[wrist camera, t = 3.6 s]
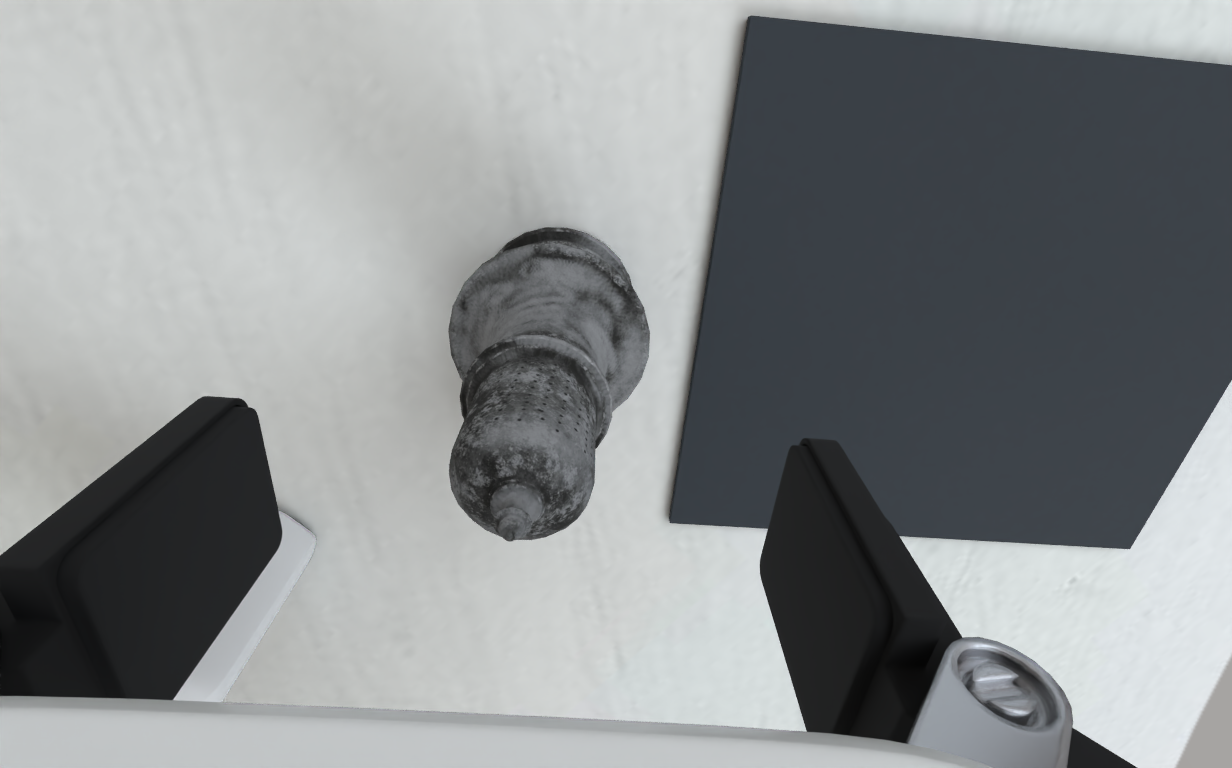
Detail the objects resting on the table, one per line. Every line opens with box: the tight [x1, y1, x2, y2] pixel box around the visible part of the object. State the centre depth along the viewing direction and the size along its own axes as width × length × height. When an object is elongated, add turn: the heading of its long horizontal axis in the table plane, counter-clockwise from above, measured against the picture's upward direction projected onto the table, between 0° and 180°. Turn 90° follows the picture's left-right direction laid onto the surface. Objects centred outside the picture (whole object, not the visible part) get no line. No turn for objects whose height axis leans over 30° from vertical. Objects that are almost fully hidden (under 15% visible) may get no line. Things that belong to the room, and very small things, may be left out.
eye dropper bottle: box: [173, 510, 316, 702], centre depth 20 cm, size 4×6×12 cm
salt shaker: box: [449, 228, 650, 541], centre depth 15 cm, size 6×6×12 cm
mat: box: [669, 16, 1232, 549], centre depth 21 cm, size 20×18×1 cm
